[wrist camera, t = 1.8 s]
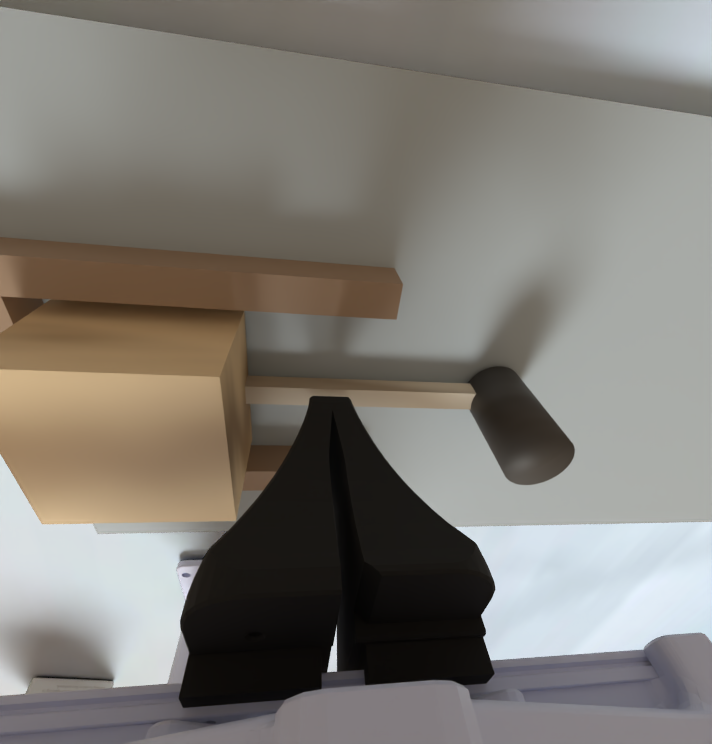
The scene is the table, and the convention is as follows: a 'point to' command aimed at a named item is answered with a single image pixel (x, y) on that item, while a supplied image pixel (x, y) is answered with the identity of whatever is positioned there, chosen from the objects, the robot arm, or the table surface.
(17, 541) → the table surface
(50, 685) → the skincare box
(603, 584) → the table surface
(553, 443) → the wooden mallet
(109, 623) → the table surface
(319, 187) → the lane
